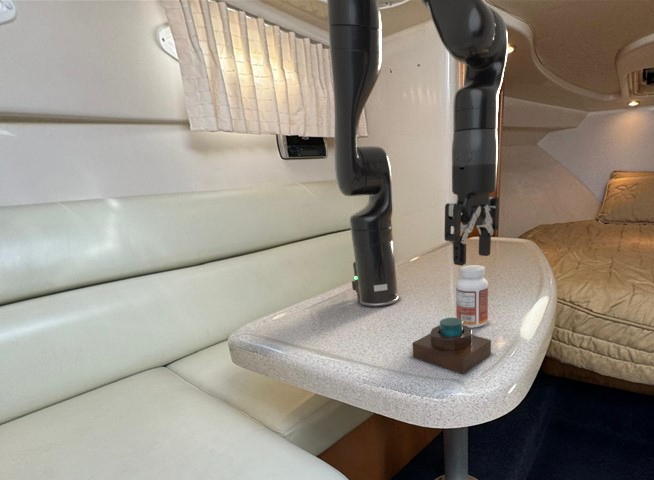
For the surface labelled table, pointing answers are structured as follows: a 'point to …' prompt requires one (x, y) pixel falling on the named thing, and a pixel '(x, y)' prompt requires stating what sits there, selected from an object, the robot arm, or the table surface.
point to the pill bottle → (472, 296)
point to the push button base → (452, 349)
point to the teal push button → (451, 327)
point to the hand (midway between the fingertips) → (472, 259)
